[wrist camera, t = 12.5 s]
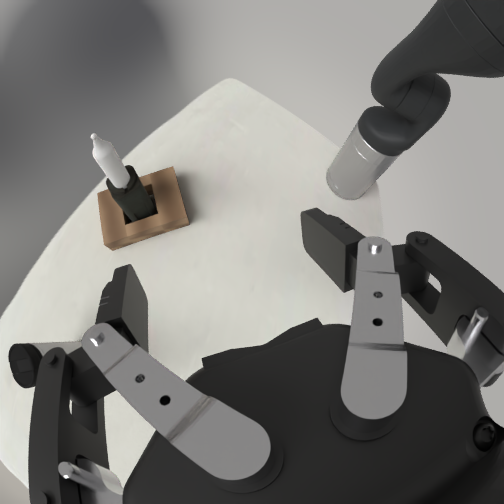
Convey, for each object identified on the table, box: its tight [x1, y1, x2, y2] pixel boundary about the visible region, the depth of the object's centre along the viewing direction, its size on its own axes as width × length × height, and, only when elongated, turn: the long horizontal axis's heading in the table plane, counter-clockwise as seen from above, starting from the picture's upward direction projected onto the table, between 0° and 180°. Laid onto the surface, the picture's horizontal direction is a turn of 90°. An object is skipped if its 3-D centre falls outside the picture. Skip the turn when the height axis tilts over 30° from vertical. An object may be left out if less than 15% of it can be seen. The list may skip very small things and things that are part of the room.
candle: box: [91, 133, 158, 222], centre depth 38 cm, size 5×5×25 cm
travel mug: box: [8, 341, 82, 388], centre depth 32 cm, size 6×7×20 cm
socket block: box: [97, 167, 190, 251], centre depth 48 cm, size 16×11×4 cm
